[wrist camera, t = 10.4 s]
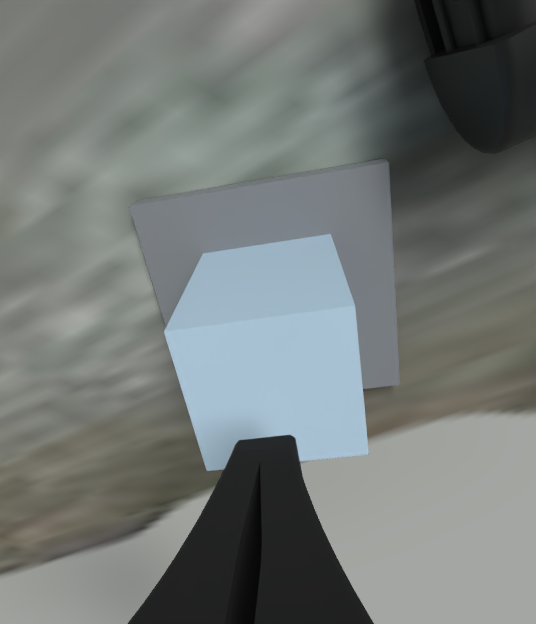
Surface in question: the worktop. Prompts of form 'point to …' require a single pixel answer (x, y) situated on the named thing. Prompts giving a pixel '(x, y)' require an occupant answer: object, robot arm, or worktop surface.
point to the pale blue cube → (270, 350)
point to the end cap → (483, 67)
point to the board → (282, 227)
